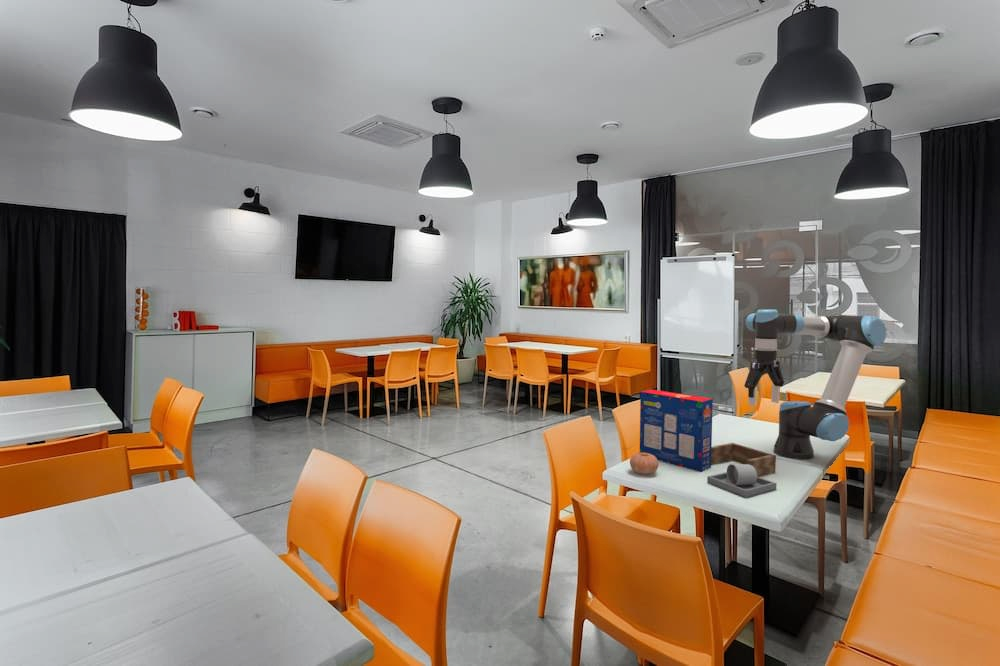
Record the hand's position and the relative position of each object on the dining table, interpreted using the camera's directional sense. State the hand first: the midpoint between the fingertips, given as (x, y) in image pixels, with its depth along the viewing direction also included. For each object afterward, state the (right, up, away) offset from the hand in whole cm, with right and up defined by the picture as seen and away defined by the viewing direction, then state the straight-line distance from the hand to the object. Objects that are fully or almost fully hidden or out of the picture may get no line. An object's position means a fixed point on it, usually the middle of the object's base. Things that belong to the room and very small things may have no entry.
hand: (763, 404), depth 197 cm
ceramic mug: (-16, -27, -13) cm, 34 cm away
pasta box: (-30, -26, +15) cm, 42 cm away
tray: (-15, -28, -14) cm, 35 cm away
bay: (-7, -26, +5) cm, 28 cm away
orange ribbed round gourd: (-46, -27, +1) cm, 54 cm away
